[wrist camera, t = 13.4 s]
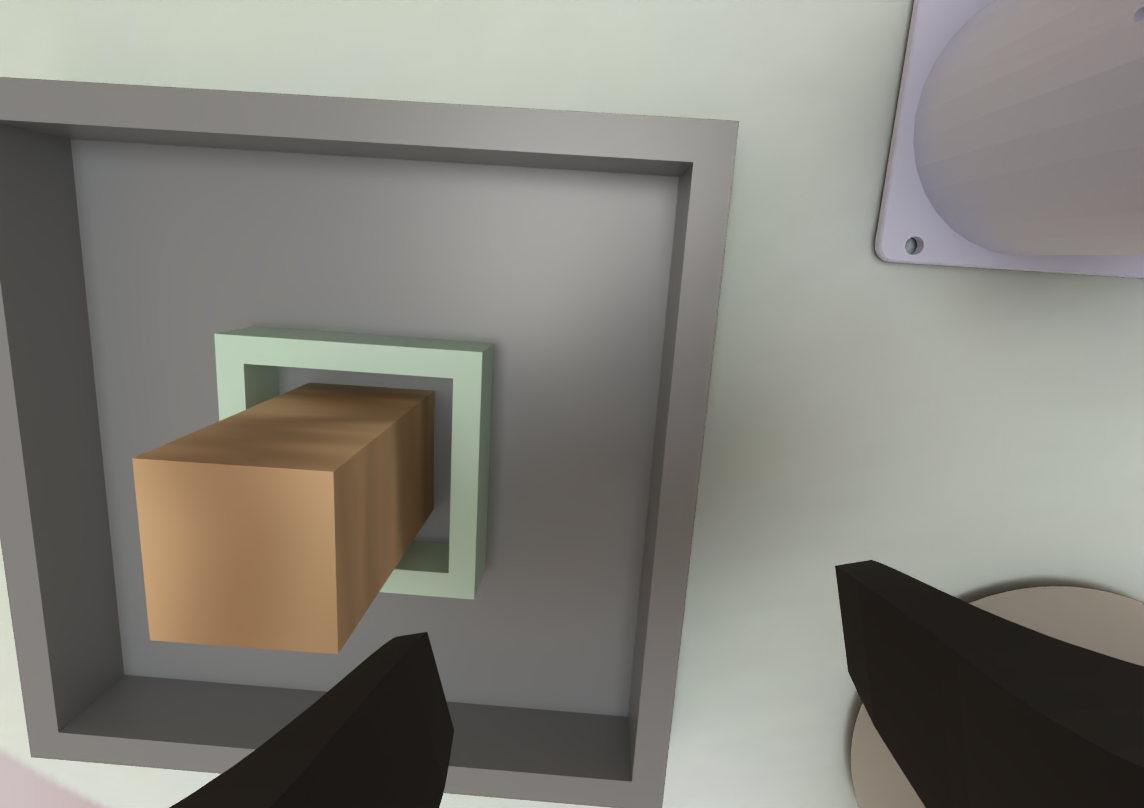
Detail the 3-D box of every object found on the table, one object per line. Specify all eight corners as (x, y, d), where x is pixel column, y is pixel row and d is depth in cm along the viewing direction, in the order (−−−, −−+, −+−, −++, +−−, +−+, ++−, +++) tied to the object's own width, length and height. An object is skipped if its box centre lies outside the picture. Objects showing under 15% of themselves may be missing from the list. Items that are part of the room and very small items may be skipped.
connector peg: (434, 390, 20) (333, 471, 13) (433, 509, 21) (337, 653, 14) (309, 382, 21) (132, 458, 13) (313, 501, 21) (150, 640, 14)
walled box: (714, 145, 19) (739, 121, 16) (652, 731, 24) (661, 811, 20) (50, 105, 20) (-66, 73, 16) (111, 686, 24) (30, 757, 21)
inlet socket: (493, 343, 20) (482, 352, 18) (485, 568, 22) (474, 599, 20) (251, 326, 20) (214, 333, 18) (261, 551, 22) (228, 580, 20)
